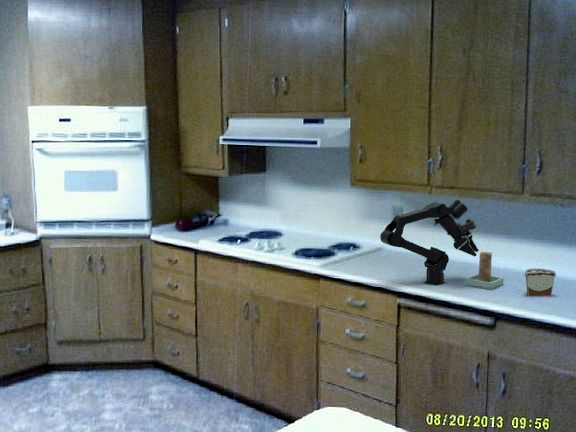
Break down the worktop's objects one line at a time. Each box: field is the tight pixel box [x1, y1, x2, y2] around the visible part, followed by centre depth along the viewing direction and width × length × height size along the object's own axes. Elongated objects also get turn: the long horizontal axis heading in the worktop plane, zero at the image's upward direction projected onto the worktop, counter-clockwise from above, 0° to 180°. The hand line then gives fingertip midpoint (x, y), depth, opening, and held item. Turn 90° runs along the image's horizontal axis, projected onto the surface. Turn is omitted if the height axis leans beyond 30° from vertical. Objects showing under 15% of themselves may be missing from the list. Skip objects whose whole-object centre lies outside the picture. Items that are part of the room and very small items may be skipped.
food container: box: [523, 268, 557, 298], centre depth 258 cm, size 12×6×10 cm, turn 92°
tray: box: [464, 273, 504, 291], centre depth 273 cm, size 12×12×3 cm
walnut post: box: [478, 251, 493, 282], centre depth 272 cm, size 4×4×13 cm
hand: (476, 253), depth 273 cm, fingers open, 9 cm apart
